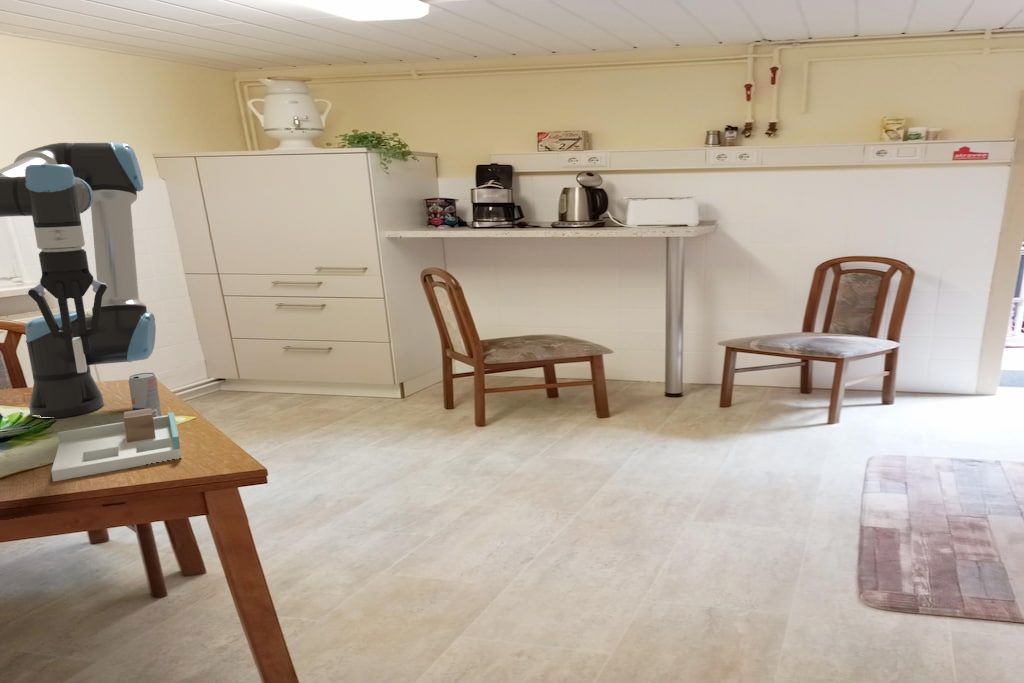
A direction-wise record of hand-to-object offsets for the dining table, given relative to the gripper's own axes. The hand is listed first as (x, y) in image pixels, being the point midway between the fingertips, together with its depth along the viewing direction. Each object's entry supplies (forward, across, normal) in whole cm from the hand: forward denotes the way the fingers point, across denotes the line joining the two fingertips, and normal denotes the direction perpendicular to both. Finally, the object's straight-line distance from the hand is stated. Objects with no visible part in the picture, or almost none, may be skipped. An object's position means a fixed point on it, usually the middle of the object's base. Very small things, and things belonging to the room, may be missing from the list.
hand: (82, 370), depth 135 cm
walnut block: (+15, +8, -1) cm, 17 cm away
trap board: (+17, +4, -4) cm, 18 cm away
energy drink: (+17, +10, +11) cm, 23 cm away
